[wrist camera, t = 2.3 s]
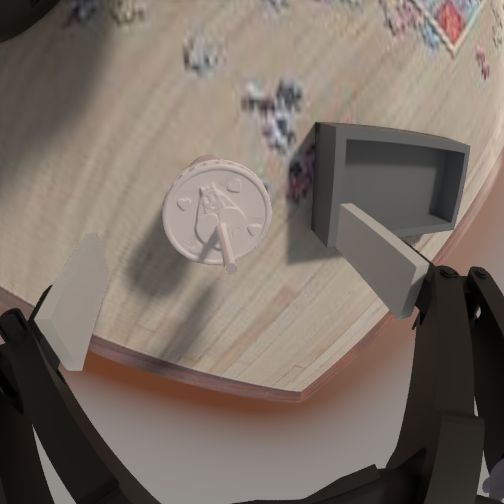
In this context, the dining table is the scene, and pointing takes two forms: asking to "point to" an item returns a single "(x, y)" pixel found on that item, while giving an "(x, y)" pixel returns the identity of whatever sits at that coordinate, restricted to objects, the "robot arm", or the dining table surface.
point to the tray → (387, 178)
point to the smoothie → (216, 212)
